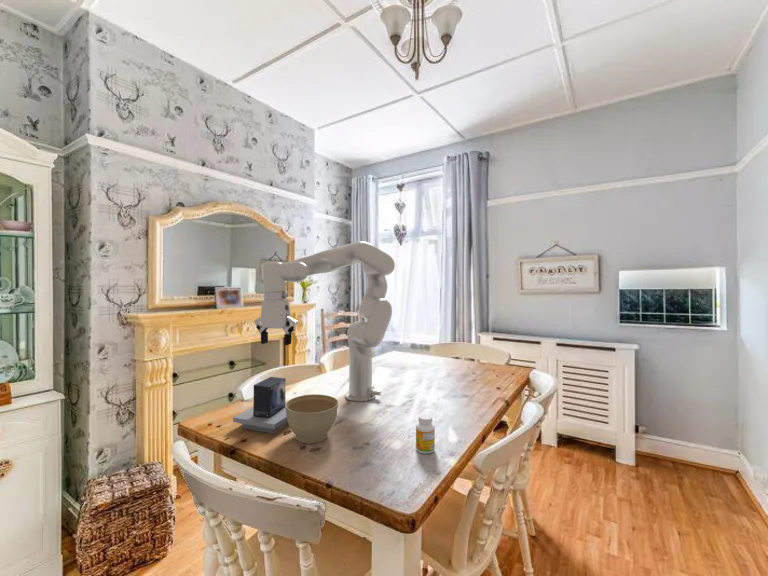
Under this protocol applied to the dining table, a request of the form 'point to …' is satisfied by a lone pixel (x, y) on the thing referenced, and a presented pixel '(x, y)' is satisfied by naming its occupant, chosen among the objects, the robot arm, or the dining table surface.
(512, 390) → the dining table surface
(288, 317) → the robot arm
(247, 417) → the stand
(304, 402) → the planter bowl
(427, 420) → the supplement bottle
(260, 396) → the small box
